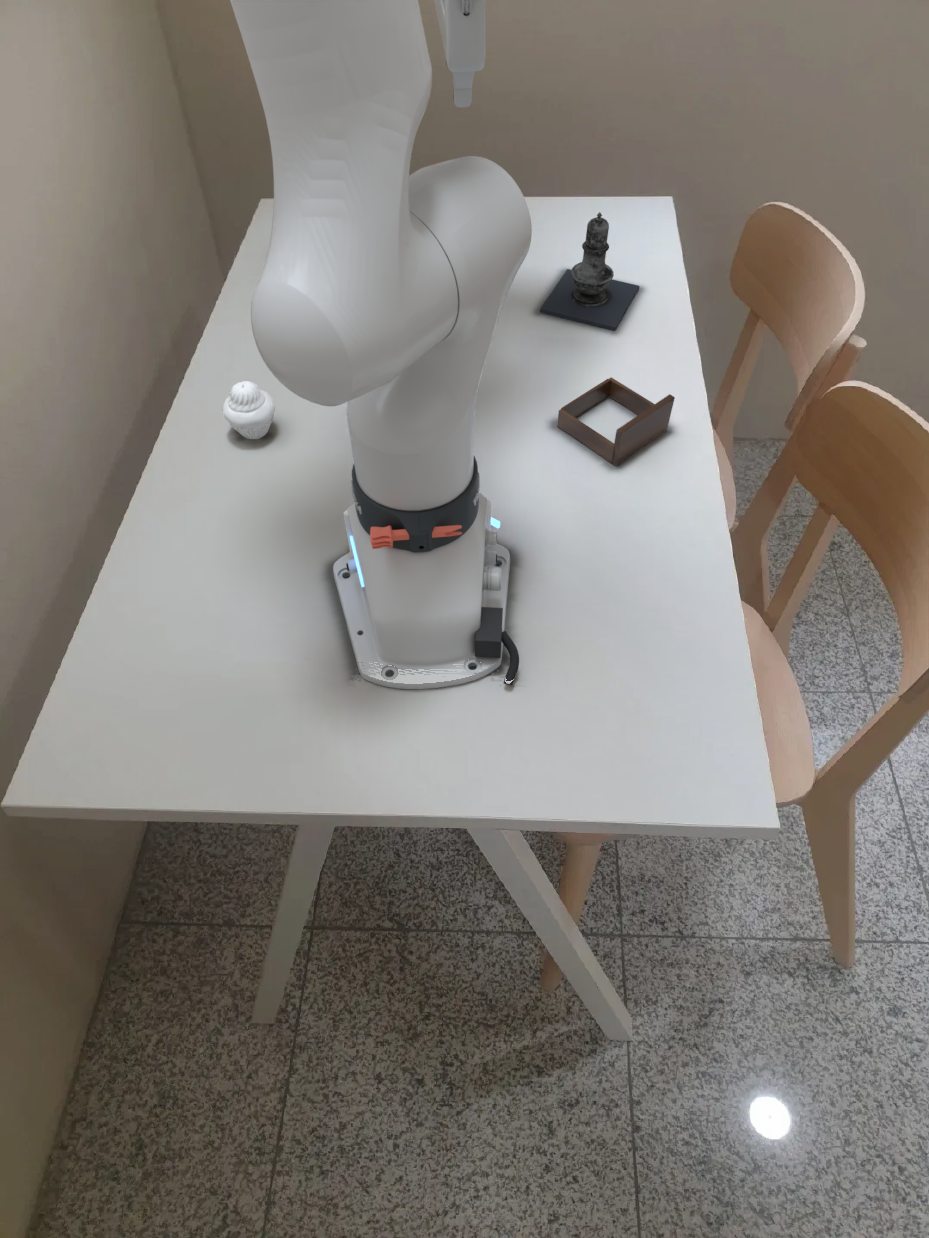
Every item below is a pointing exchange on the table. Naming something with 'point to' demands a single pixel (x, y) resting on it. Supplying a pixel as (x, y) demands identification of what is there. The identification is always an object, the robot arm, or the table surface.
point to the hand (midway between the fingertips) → (458, 85)
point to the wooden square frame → (629, 435)
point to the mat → (597, 316)
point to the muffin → (249, 410)
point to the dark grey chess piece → (593, 266)
